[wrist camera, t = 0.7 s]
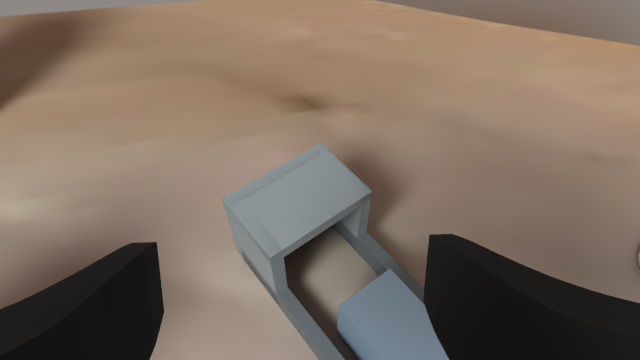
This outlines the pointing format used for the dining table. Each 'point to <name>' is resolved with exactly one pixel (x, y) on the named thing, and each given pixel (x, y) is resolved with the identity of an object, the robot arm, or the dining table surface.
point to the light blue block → (388, 323)
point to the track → (304, 228)
